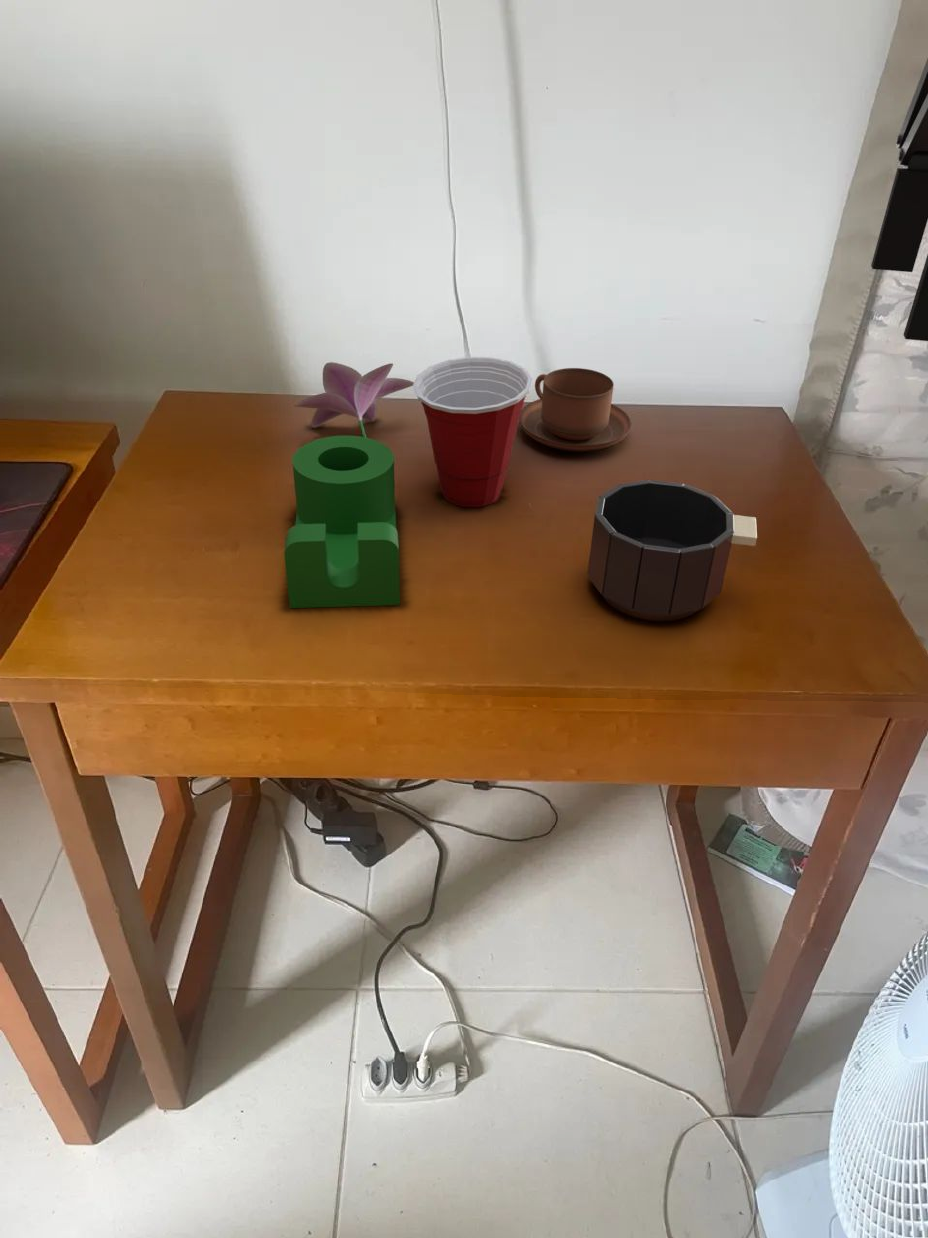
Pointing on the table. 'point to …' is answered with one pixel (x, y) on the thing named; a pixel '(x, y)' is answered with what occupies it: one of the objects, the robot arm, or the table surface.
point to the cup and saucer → (575, 411)
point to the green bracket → (343, 525)
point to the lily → (352, 393)
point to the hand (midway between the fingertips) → (907, 301)
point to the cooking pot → (663, 546)
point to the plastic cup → (472, 423)
